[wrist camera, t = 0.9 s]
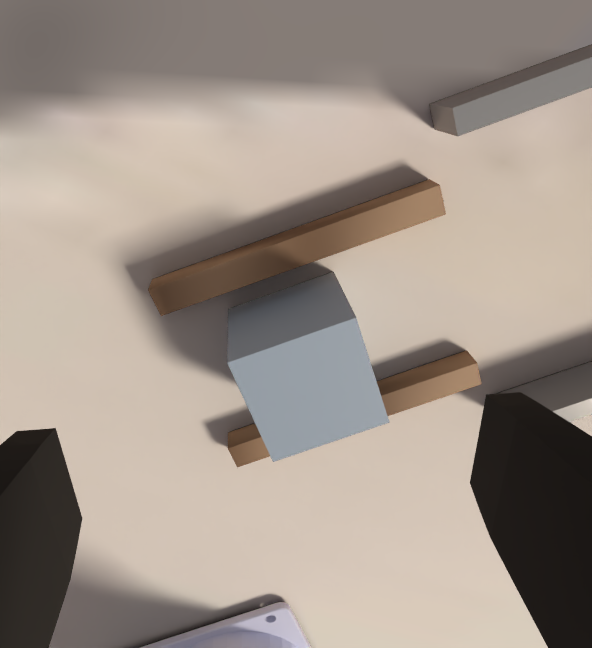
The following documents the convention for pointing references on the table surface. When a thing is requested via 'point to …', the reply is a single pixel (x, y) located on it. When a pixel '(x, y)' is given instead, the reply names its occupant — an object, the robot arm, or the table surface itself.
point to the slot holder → (310, 247)
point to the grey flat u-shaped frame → (501, 103)
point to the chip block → (303, 367)
